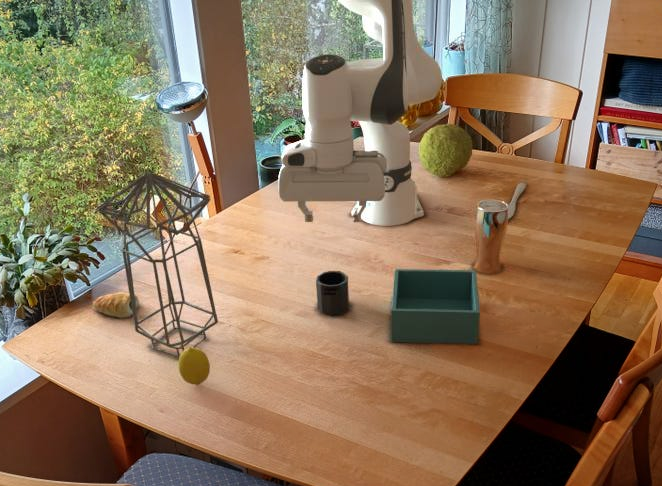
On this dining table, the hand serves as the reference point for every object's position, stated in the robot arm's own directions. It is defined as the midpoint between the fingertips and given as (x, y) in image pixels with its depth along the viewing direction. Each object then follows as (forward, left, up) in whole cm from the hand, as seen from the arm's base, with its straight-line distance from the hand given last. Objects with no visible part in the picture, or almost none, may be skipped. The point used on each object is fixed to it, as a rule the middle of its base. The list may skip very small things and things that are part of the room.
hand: (333, 221), depth 144 cm
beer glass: (-19, +32, -20) cm, 43 cm away
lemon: (+28, -23, -20) cm, 41 cm away
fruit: (-77, +23, -20) cm, 83 cm away
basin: (+4, +20, -20) cm, 29 cm away
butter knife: (-55, +41, -20) cm, 72 cm away
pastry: (+3, -47, -20) cm, 51 cm away
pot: (0, -1, -20) cm, 20 cm away
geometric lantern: (+15, -30, -20) cm, 39 cm away
